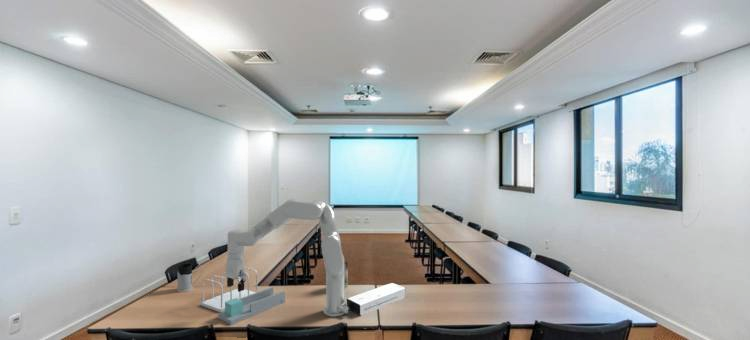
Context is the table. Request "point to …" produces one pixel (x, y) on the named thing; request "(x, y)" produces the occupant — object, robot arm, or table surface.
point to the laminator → (376, 298)
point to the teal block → (233, 307)
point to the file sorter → (225, 294)
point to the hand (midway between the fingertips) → (235, 288)
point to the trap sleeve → (255, 305)
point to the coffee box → (345, 274)
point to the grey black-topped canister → (185, 277)
